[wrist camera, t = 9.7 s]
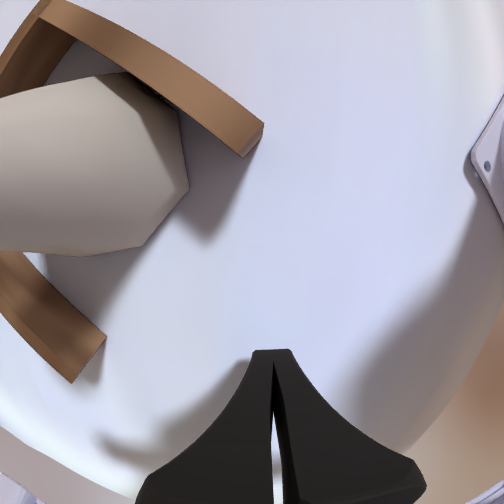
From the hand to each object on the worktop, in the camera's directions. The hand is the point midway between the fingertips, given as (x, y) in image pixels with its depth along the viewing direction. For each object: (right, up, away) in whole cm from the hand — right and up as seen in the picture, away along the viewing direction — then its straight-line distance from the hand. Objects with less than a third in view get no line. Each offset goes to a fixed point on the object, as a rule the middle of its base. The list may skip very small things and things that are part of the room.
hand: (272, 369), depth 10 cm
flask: (-7, +8, 0) cm, 10 cm away
